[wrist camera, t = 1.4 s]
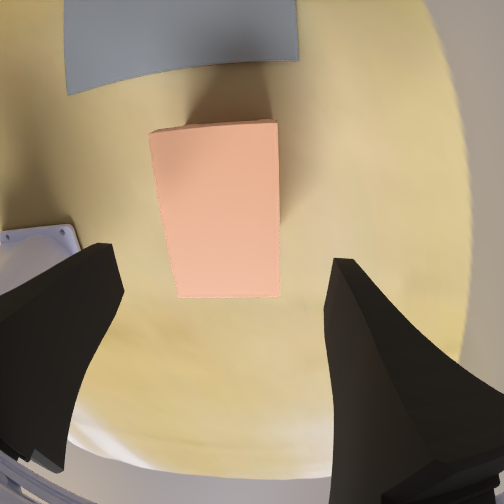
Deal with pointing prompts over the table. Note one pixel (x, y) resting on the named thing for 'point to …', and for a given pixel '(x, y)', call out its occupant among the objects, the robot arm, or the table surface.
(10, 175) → the table surface
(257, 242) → the terracotta stool
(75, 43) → the slate mat
